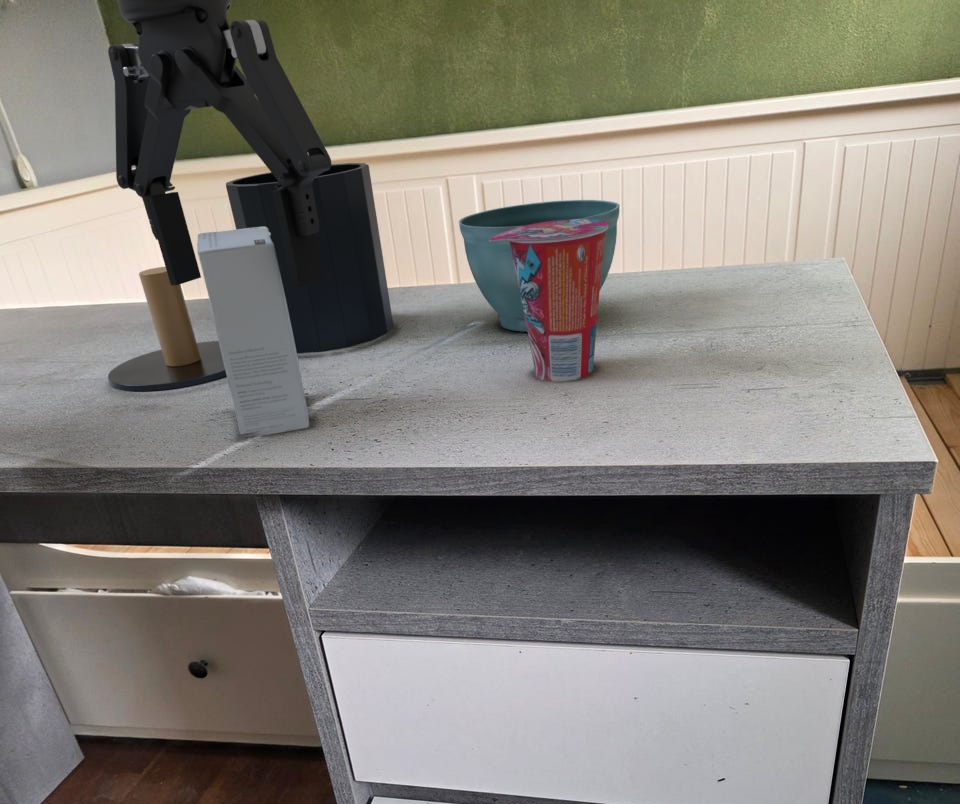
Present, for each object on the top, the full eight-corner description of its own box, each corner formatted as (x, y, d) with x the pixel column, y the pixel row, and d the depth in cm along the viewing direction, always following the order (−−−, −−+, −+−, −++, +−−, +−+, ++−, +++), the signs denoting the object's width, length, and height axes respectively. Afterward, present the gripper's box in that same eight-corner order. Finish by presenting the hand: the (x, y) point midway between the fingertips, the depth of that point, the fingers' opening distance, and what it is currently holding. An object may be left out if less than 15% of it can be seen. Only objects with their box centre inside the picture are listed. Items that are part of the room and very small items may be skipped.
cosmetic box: (239, 412, 79) (192, 233, 71) (305, 400, 80) (267, 222, 72) (242, 442, 72) (191, 248, 64) (315, 428, 73) (273, 235, 65)
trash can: (237, 354, 97) (195, 187, 88) (321, 319, 106) (291, 166, 97) (338, 362, 90) (303, 182, 81) (418, 324, 99) (395, 159, 90)
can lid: (80, 390, 91) (43, 287, 85) (190, 348, 101) (164, 253, 96) (182, 403, 83) (148, 290, 78) (289, 355, 94) (267, 253, 88)
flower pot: (497, 305, 103) (488, 203, 97) (634, 301, 98) (633, 193, 92) (448, 344, 91) (434, 231, 85) (602, 342, 85) (599, 221, 79)
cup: (568, 353, 83) (561, 215, 77) (631, 369, 77) (630, 220, 71) (490, 379, 79) (476, 235, 73) (550, 397, 73) (541, 243, 67)
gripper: (341, -90, 55) (397, 270, 66) (89, -25, 67) (174, 270, 78) (258, -97, 49) (334, 295, 61) (1, -24, 62) (106, 291, 73)
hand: (244, 282), depth 70 cm, fingers open, 13 cm apart
